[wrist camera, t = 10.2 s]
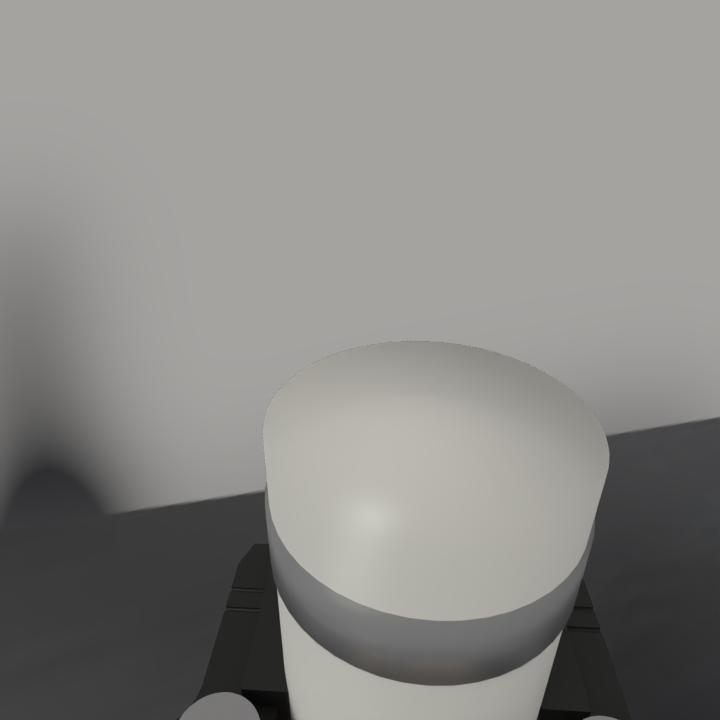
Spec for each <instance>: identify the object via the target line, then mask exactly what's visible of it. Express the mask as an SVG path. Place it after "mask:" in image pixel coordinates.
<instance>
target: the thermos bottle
mask: <svg viewBox="0 0 720 720" xmlns="http://www.w3.org/2000/svg"><path fill="white" fill-rule="evenodd" d="M263 445H264V455H265V466H266V477H267V482H266V487H265V511H266V521H267V531H268V541H269V551H270V561H271V567H272V573H273V578H274V581H275V584H276V587H277V594H278V604H279V615H280V626H281V636H282V647H283V657H284V668H285V675H286V681H287V687H288V697H289V708H290V719H291V720H537V717H538V714H539V710H540V707H541V703H542V700H543V696H544V693H545V689H546V686H547V682H548V679H549V675H550V672H551V668H552V665H553V661H554V658H555V654H556V651H557V647H558V644H559V640H560V637H561V633H562V630H563V628H564V627H565V625H566V623H567V621H568V619H569V617H570V615H571V613H572V611H573V608H574V604H575V601H576V598H577V594H578V591H579V587H580V584H581V580H582V577H583V574H584V570H585V567H586V563H587V560H588V556H589V553H590V549H591V546H592V542H593V539H594V531H595V514H596V511H597V507H598V504H599V500H600V497H601V493H602V490H603V486H604V483H605V479H606V476H607V472H608V469H609V448H608V443H607V438H606V436H605V433H604V431H603V429H602V426H601V424H600V423H599V421H598V419H597V418H596V416H595V415H594V413H593V412H592V411H591V410H590V408H589V407H588V406H587V405H586V404H585V403H584V401H583V400H582V399H580V398H579V397H578V396H577V395H576V394H575V393H574V392H573V391H571V390H570V389H569V388H567V387H566V386H565V385H563V384H562V383H561V382H559V381H558V380H556V379H554V378H553V377H551V376H550V375H548V374H546V373H545V372H543V371H541V370H539V369H537V368H535V367H533V366H531V365H529V364H526V363H524V362H521V361H519V360H516V359H514V358H511V357H508V356H505V355H502V354H499V353H496V352H492V351H488V350H484V349H480V348H476V347H470V346H465V345H460V344H452V343H443V342H429V341H401V342H387V343H379V344H372V345H367V346H362V347H357V348H353V349H349V350H346V351H343V352H339V353H336V354H334V355H331V356H328V357H326V358H323V359H321V360H319V361H317V362H315V363H313V364H311V365H309V366H308V367H306V368H304V369H303V370H301V371H300V372H298V373H297V374H296V375H294V376H293V377H292V378H290V379H289V380H288V381H287V382H286V383H285V384H284V385H283V386H282V387H281V388H280V389H279V391H278V392H277V393H276V395H275V396H274V398H273V399H272V401H271V403H270V405H269V407H268V409H267V411H266V414H265V419H264V423H263Z"/></svg>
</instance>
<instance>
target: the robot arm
mask: <svg viewBox="0 0 720 720" xmlns="http://www.w3.org/2000/svg"><path fill="white" fill-rule="evenodd" d="M177 720H291V719H290V708H289V697H288V687H287V681H286V675H285V668H284V657H283V647H282V636H281V626H280V615H279V604H278V594H277V587H276V584H275V581H274V578H273V573H272V567H271V561H270V551H269V544H254V545H253V547H252V548H251V549H250V550H249V552H248V553H247V554H246V555H245V557H244V558H243V559H242V560H241V561H240V563H239V565H238V568H237V571H236V575H235V578H234V581H233V585H232V591H231V592H230V595H229V598H228V601H227V605H226V611H225V612H224V615H223V618H222V622H221V625H220V628H219V632H218V635H217V638H216V642H215V645H214V648H213V652H212V655H211V658H210V662H209V665H208V668H207V672H206V675H205V679H204V682H203V685H202V687H201V690H200V692H199V694H198V696H197V698H196V700H195V701H194V702H193V704H192V705H191V706H190V707H189V708H188V709H187V710H186V711H185V712H184V714H183V715H182V716H181V717H179V718H178V719H177ZM537 720H631V718H630V715H629V713H628V710H627V707H626V704H625V701H624V699H623V696H622V693H621V690H620V687H619V684H618V681H617V678H616V675H615V672H614V669H613V666H612V663H611V660H610V657H609V654H608V651H607V648H606V645H605V642H604V639H603V636H602V633H600V627H599V624H598V621H597V618H596V615H595V612H593V606H592V603H591V600H590V597H589V594H588V591H587V589H586V586H585V583H584V581H583V580H581V584H580V587H579V591H578V594H577V598H576V601H575V604H574V608H573V611H572V613H571V615H570V617H569V619H568V621H567V623H566V625H565V627H564V628H563V630H562V633H561V637H560V640H559V644H558V647H557V651H556V654H555V658H554V661H553V665H552V668H551V672H550V675H549V679H548V682H547V686H546V689H545V693H544V696H543V700H542V703H541V707H540V710H539V714H538V717H537Z"/></svg>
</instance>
